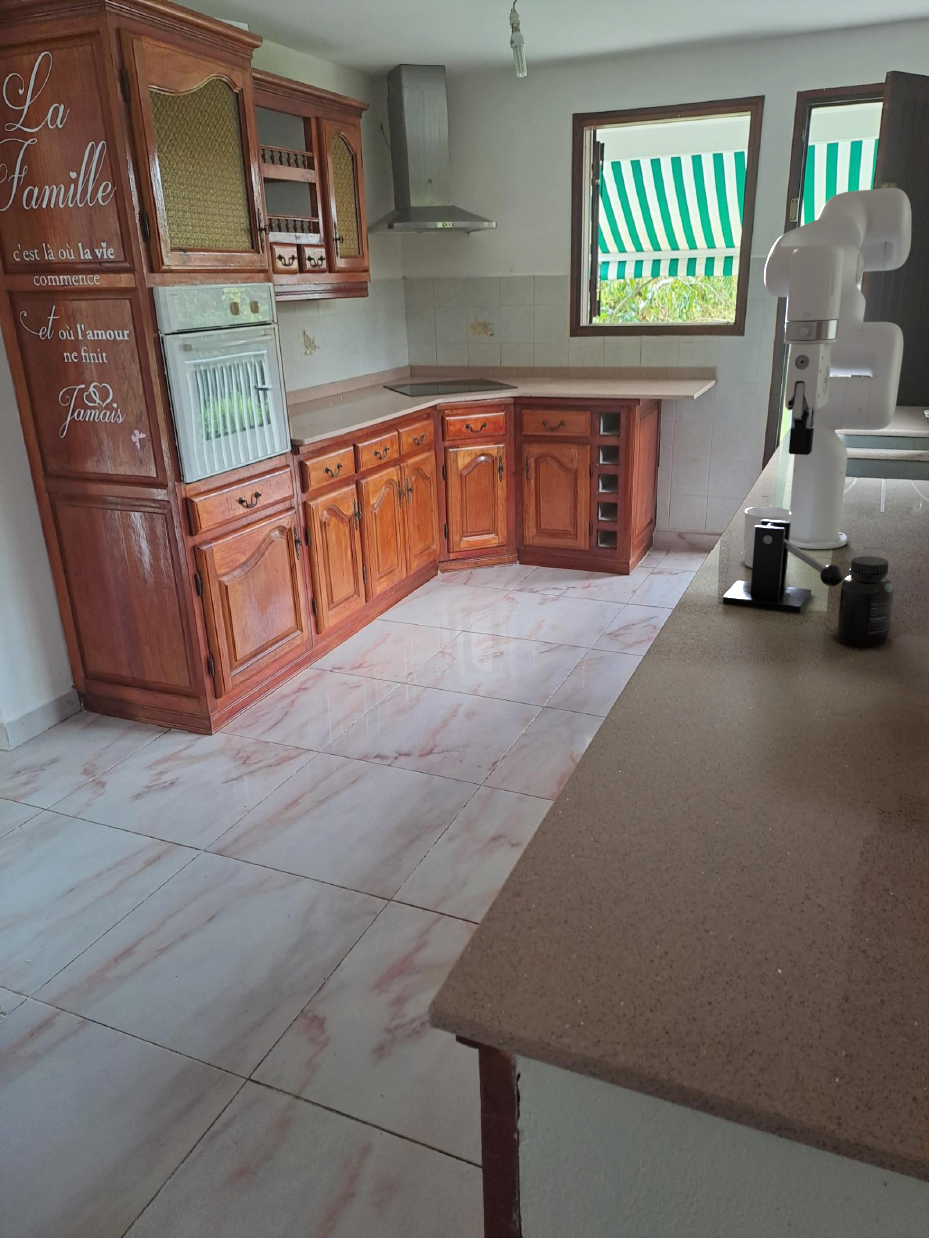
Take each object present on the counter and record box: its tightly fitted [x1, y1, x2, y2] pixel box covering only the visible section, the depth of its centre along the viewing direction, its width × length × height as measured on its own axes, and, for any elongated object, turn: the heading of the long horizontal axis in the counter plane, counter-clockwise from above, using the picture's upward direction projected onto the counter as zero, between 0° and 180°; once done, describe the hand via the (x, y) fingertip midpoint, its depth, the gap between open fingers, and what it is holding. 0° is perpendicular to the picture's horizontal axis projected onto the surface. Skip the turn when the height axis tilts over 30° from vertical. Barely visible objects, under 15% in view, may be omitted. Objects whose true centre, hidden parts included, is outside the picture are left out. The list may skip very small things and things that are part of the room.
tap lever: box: [768, 523, 845, 587], centre depth 139 cm, size 14×3×3 cm, turn 59°
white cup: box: [743, 506, 791, 569], centre depth 160 cm, size 8×8×10 cm
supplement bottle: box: [836, 555, 895, 649], centre depth 125 cm, size 7×7×12 cm
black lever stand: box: [722, 519, 812, 615], centre depth 142 cm, size 12×9×13 cm
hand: (800, 453), depth 140 cm, fingers closed
